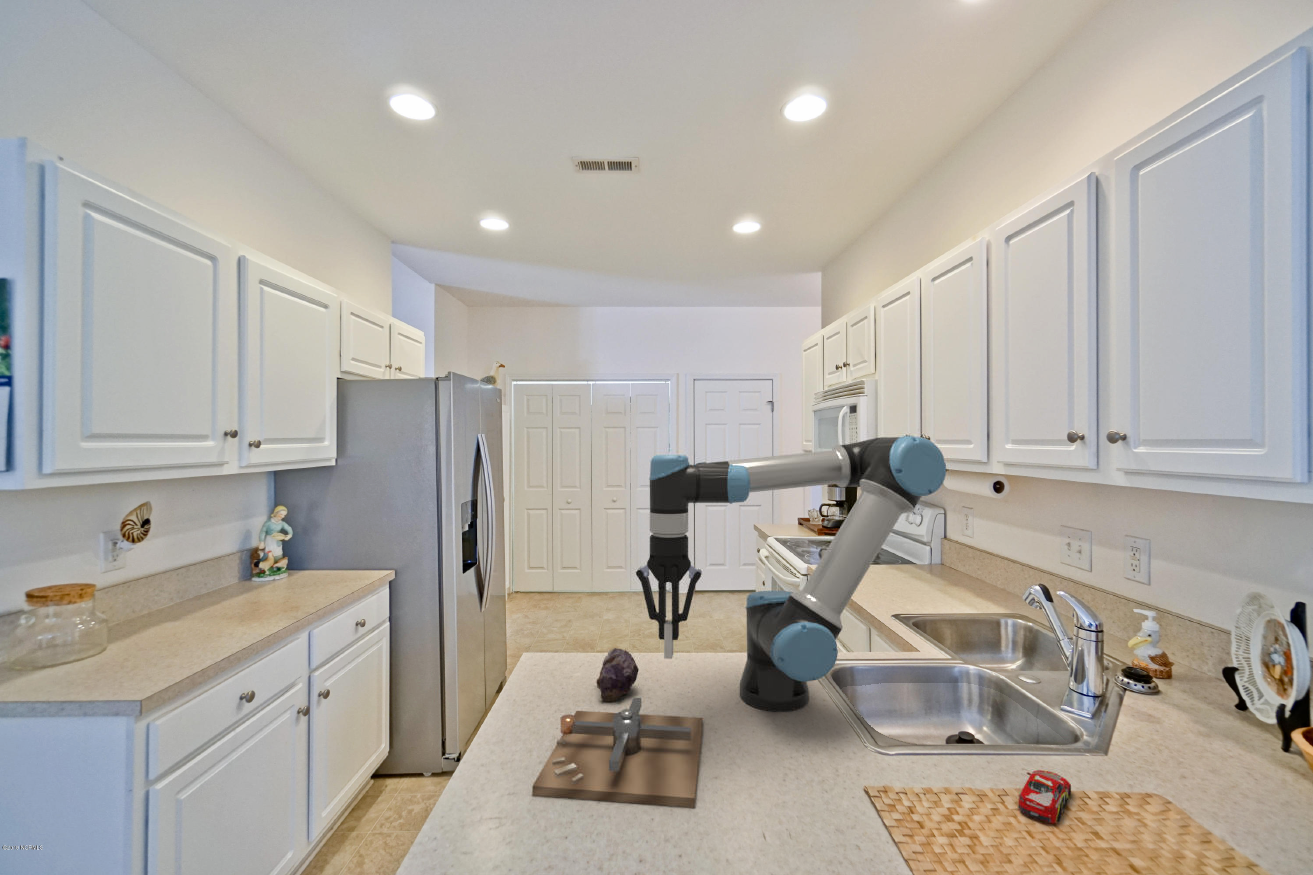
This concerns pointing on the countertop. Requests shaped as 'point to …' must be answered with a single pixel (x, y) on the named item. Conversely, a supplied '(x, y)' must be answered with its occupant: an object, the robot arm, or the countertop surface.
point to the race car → (1044, 796)
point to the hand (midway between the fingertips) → (668, 655)
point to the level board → (624, 766)
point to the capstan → (624, 732)
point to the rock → (617, 674)
